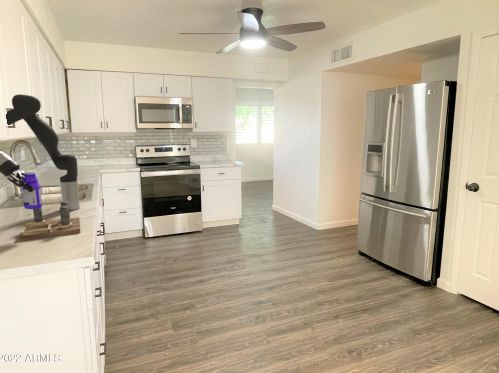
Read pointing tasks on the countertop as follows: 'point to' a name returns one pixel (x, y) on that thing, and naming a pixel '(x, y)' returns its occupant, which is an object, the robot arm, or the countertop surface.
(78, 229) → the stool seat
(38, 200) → the bottle
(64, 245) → the countertop surface
